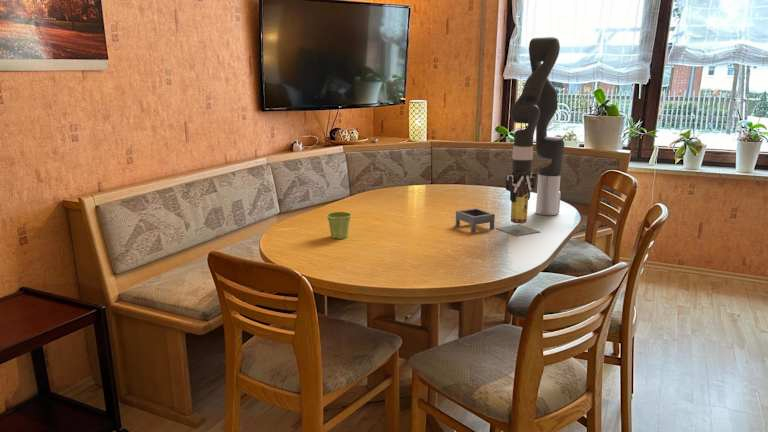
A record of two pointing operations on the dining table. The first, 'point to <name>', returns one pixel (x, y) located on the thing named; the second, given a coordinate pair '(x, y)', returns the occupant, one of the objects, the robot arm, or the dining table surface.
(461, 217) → the grey square frame stand
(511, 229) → the slate mat
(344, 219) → the plant pot
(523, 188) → the sauce bottle
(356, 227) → the dining table surface
